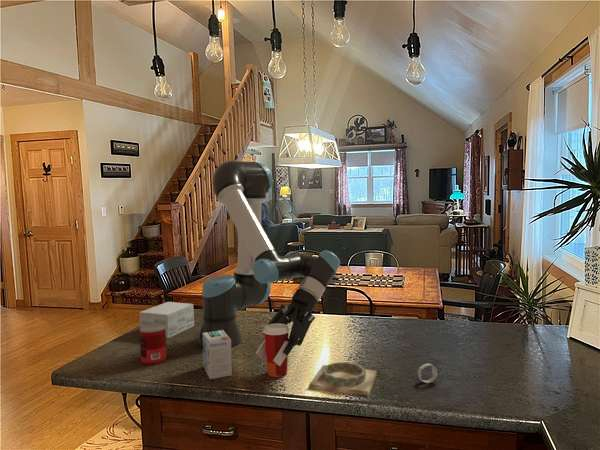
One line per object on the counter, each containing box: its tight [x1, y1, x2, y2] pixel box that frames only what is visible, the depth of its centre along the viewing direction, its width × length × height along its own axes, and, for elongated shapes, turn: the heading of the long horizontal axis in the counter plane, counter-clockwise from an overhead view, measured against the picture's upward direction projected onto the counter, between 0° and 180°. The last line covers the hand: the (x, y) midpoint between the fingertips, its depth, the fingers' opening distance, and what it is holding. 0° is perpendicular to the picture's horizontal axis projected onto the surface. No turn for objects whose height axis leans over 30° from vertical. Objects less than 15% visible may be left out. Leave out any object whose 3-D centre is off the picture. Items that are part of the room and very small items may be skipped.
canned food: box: [139, 324, 167, 366], centre depth 141 cm, size 8×8×11 cm
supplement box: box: [139, 301, 195, 339], centre depth 173 cm, size 17×13×9 cm
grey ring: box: [417, 363, 438, 384], centre depth 122 cm, size 3×5×5 cm, turn 102°
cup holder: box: [308, 361, 378, 397], centre depth 123 cm, size 16×14×3 cm
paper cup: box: [262, 323, 291, 378], centre depth 129 cm, size 8×8×14 cm
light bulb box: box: [202, 330, 233, 380], centre depth 132 cm, size 11×7×11 cm, turn 23°
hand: (267, 359), depth 127 cm, fingers closed on paper cup, 8 cm apart
